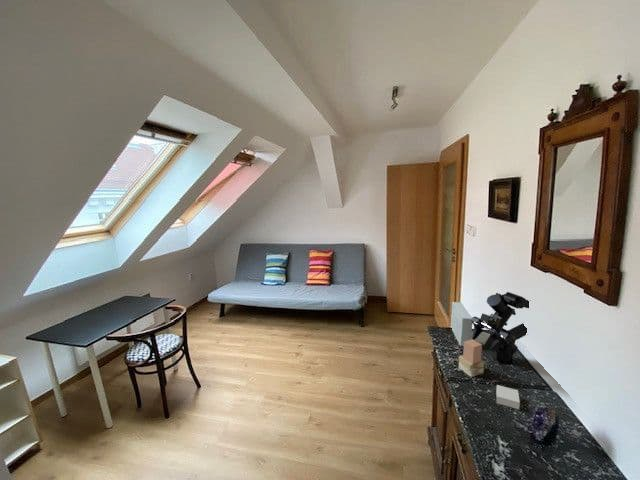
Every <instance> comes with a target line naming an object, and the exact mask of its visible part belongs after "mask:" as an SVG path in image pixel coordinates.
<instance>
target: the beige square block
mask: <svg viewBox="0 0 640 480" xmlns="http://www.w3.org/2000/svg"><path fill="white" fill-rule="evenodd" d="M459 362H460V363H461V364H462V365H463V366H464V367H466V368H467V369H468V370H469V371H473V370H477V369H481V368H484V367H485V365H484V364H485V362H484V361H483V360H482V359H481V361H480V362H477V363H475V364H472V363H470V362H469V361H467V360H466V359H464V358H463V354H461V355H459V356H458V363H459Z"/></svg>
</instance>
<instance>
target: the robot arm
mask: <svg viewBox="0 0 640 480" xmlns="http://www.w3.org/2000/svg"><path fill="white" fill-rule="evenodd" d="M526 299H527V298H525V297H523V296H521V295H518V294H515V293H513V292H510V291H507V292H506V293H504V294H501V293H499V292H496V293H495V294H491V295H489V296H488V297H487V299H486V303H487V305H488V306H489V307H490V308H491V309H492V310H493V311H494V313H491V314H486V313H482V312H481V313H482V314H481V316H480V317H478V316H471V317H472V319H471V321H472V325H473V330H474V332H473V331H472V332H473V336H472V339H473V340H475V339H476V338H477V337H478V336H479V335H480V334H481V333H482V332H484V329H486V330H488V331H490V332H493V333H492V334H490V339H491V343H492V344H491V346H490V348H489V351H490V352H491V351H493V357H494V359H495V360H496V361H497V363H499V365H501V364H504V365H514V364H515V362H514V360H513V359H514V355H515V353H516V352H517V351H518V346H517V344H515V343H516V341H517V340H520V339H521V338H524V337H526V336H527V335H526V333H527V328H526V327H525V326H524V324H523V323H524V322H522V323H520V324H519V325H516V326H515V327H512V328H509V330H508V329H506V328H505V326H506V327H507V326H508V321H509V320H510V318H511V317H512V316H516V314H517V313H516V310H515V309H523V308H525V309H529V301H528V300H529V299H527V300H526Z"/></svg>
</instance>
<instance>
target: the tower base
mask: <svg viewBox="0 0 640 480" xmlns="http://www.w3.org/2000/svg"><path fill="white" fill-rule="evenodd" d="M458 369H459V370H461V371H462V370H463V372H464V373H465V374H466V375H468V376H469V377H471V378H473V377H475V376H478V375H482V374H484V370H485V369H484V368H481V369H477V370H473V371H469V370H468V369H467V368H466V367H464V366H463V365H462V364H461V363H460V362H459V361H458Z"/></svg>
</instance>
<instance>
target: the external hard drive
mask: <svg viewBox="0 0 640 480" xmlns="http://www.w3.org/2000/svg"><path fill="white" fill-rule="evenodd" d="M473 332H474V329H472V334H471V339H472V336H473ZM489 338H491V333H487V332H485V331H482V333H481V334H480V335H479V336H478V337H477V338H476V339H475V341H476V342H478V343H480V344H482V346H484V345H486V343H487V342H488V339H489Z"/></svg>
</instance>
